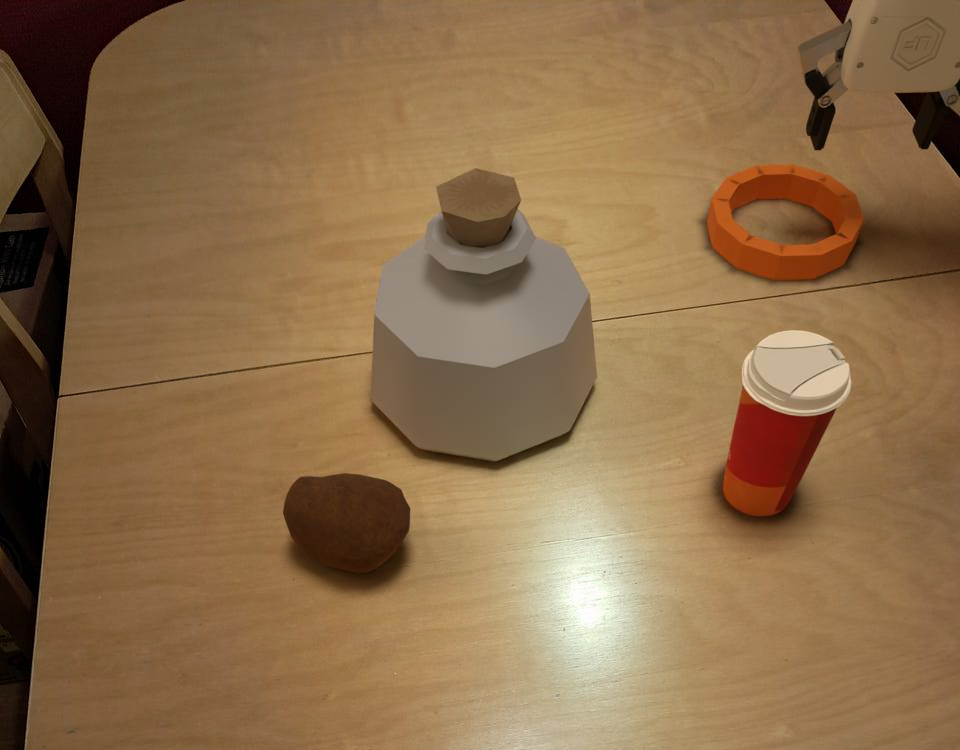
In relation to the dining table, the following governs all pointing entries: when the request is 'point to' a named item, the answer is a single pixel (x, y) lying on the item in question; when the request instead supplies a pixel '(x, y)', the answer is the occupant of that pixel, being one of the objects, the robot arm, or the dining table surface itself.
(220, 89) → the dining table surface
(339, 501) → the potato
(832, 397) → the paper cup
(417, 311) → the bottle
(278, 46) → the dining table surface
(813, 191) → the ring
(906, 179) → the dining table surface
